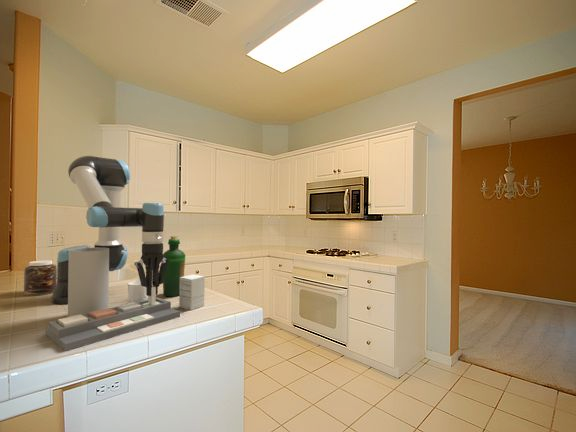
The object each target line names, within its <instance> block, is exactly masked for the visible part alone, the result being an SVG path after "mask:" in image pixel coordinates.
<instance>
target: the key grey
mask: <svg viewBox="0 0 576 432" xmlns="http://www.w3.org/2000/svg"><path fill="white" fill-rule="evenodd" d="M115 307H116V310H119V311H121V312H123V313H124V312H128V311H132V310H136V309H140V308H141V305H139V304H137V303H134V302H133V303H129V302H128V303H124V304H120V305H116V306H115Z"/></svg>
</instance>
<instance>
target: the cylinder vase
mask: <svg viewBox="0 0 576 432" xmlns="http://www.w3.org/2000/svg"><path fill="white" fill-rule="evenodd" d="M109 280H110V271H109V248H94V247H90V248H79V249H71V250H69V267H68V304H67V317H71V316H75V315H79V314H81V315H82V314H87V313H89V312H93V311H97V310H102V309H106V308H109V288H110V287H109V285H110V281H109Z"/></svg>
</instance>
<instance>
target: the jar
mask: <svg viewBox="0 0 576 432" xmlns="http://www.w3.org/2000/svg"><path fill="white" fill-rule="evenodd" d="M23 271H24V272H23V274H24V275H23V295H24V296H27V297H35V296H37V297H38V296H46V295H49V294H53V293H54V290H55V288H56V285H57V265H56V264H54V263H53V260H50V259H49V260H47V259H44V260H43V259H42V260H35V261H34V260H33V261H29V264H28V265H27V266H25V267H24V270H23Z"/></svg>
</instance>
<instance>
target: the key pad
mask: <svg viewBox="0 0 576 432" xmlns="http://www.w3.org/2000/svg"><path fill="white" fill-rule="evenodd" d="M156 301H157V302H159V303H160V304H156V305H152V306H148V307H147V306H145V305H142V304H145V303H148V300H144V301H139V302H135V303H137V304H139V305H141V308H140V309H136V310H132V311H128V312H124V313H123V312H121V311H119V310H116V306H114V307H109V308H110V309H112V310H115V311H116V315H111V316H107V317H103V318H99V319H94V318H92V317H90V316H89V313H87V314H82V315H83V316H85V317H86V318H88V321H87V322H83V323H79V324H75V325H71V326H67V327H62V326H60V325H59V324H58V319H57V320H52V321H48V327H46V328H45V335H46V336H47V337H48V338H49V339H51V341H53V342H54V343H55V344H57V346H59V348H61V349H62V350H63V351H64V352H68V351H71V350H75V349H79V348H80V347H84V346H88V345H91V344H95V343H97V342H100V341H104V340H107V339H111V338H114V337H117V336H120V335H123V334H127V333H130V332H134V331H137V330H140V329H144V328H147V327H150V326H154V325H156V324H159V323H160V324H161V323H163V322H166V321H170V320H174V319H176V318H179V317H181V316H180V315H181V311H180V310H177V309H174V308H172V307H171V305H172V302H171V301H169V300H167V299H166V300H165V299H163V298H160V297H156Z"/></svg>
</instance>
